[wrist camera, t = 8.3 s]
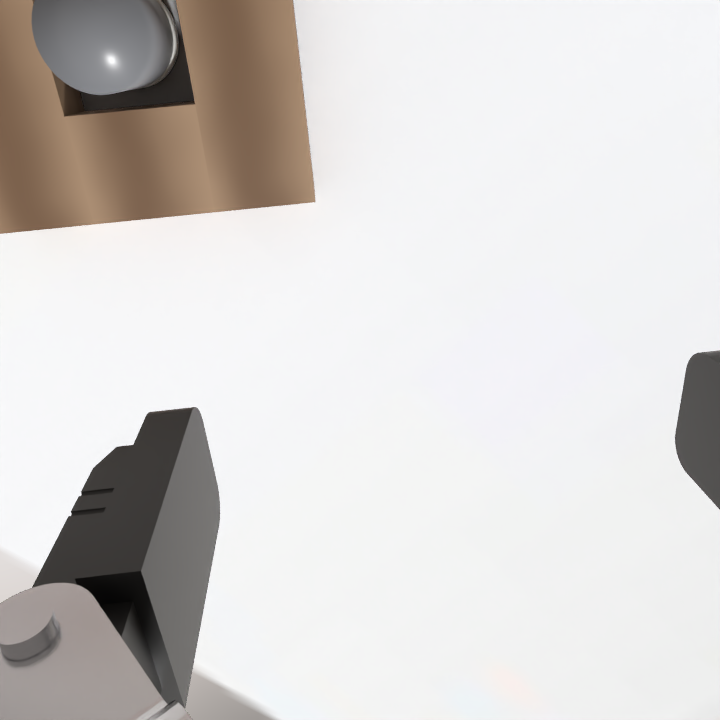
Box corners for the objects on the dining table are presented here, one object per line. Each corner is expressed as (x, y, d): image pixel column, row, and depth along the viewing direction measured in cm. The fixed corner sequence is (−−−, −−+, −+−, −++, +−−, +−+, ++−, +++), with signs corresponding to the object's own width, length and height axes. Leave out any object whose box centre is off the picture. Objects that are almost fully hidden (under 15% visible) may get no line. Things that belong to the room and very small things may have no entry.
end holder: (271, -187, 27) (268, -213, 24) (314, 190, 34) (315, 201, 31) (-108, -157, 27) (-154, -180, 24) (16, 219, 34) (-9, 234, 31)
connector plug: (168, -22, 29) (135, -39, 24) (188, 83, 31) (161, 90, 26) (71, -13, 29) (13, -28, 23) (97, 92, 31) (50, 101, 25)
